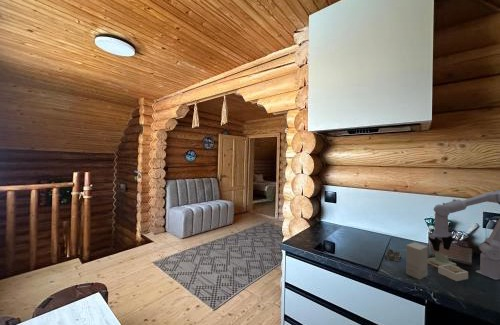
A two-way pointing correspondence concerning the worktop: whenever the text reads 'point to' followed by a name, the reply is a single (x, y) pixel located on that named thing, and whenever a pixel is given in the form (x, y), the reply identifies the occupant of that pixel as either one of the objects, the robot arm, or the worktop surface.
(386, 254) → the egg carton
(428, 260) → the cork mat
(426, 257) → the skincare box
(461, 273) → the box
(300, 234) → the worktop surface
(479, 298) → the worktop surface
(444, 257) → the lid
